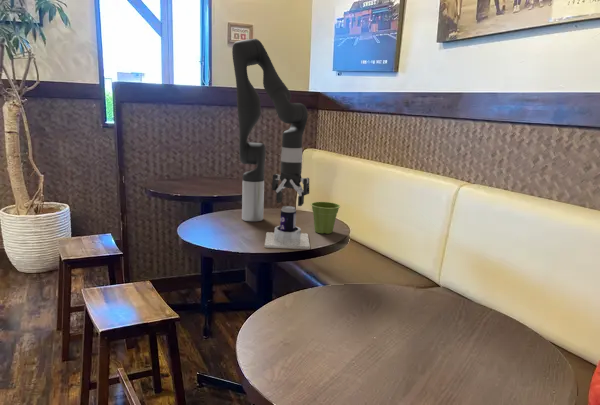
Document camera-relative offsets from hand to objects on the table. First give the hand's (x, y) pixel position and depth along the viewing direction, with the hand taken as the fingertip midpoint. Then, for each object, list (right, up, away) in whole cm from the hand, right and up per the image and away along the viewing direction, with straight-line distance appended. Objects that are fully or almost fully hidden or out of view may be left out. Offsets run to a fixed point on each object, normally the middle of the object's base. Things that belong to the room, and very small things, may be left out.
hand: (289, 204), depth 166 cm
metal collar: (-1, -14, +3) cm, 14 cm away
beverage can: (-1, -13, +3) cm, 13 cm away
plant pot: (+13, -11, +18) cm, 25 cm away
